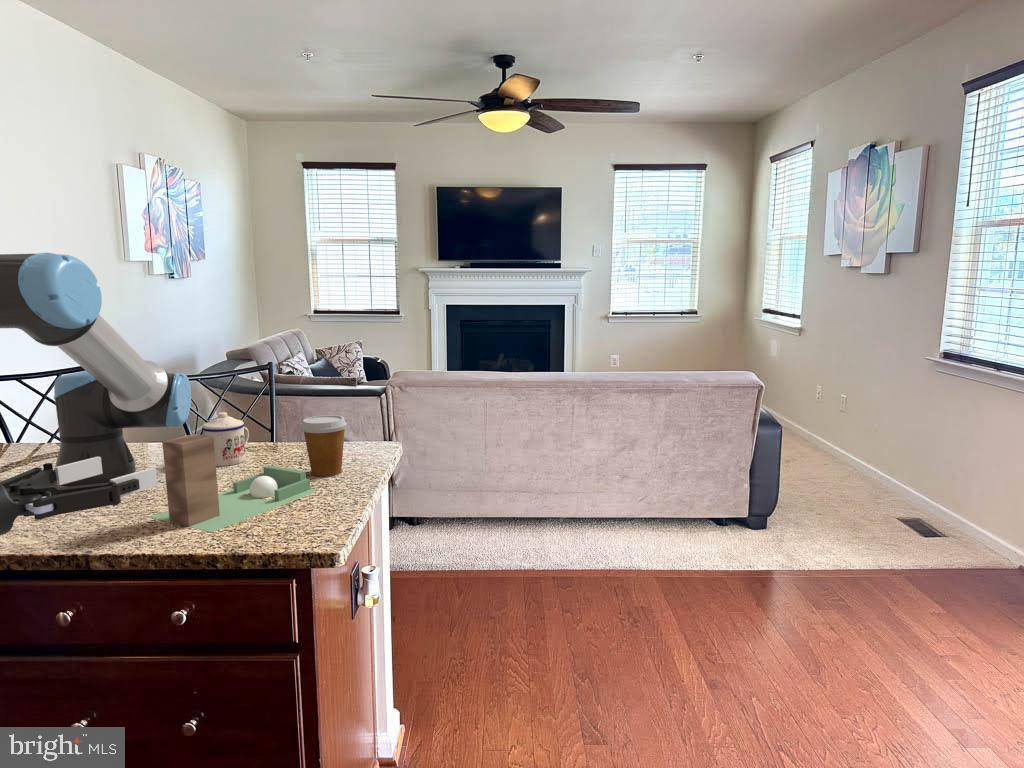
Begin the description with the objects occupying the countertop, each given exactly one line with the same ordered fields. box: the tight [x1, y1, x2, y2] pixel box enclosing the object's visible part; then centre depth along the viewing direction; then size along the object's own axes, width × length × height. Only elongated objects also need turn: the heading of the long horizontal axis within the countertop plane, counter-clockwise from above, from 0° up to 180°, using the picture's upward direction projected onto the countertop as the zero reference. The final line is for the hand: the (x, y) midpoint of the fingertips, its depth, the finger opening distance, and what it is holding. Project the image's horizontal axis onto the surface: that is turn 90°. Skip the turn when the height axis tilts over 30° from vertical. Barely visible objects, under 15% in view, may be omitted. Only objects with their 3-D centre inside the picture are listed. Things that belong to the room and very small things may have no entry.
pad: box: [149, 465, 318, 533], centre depth 124 cm, size 16×24×5 cm, turn 152°
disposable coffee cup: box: [300, 414, 347, 477], centre depth 147 cm, size 10×10×12 cm
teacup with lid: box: [201, 411, 250, 467], centre depth 159 cm, size 12×9×12 cm
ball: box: [249, 476, 279, 499], centre depth 129 cm, size 5×5×5 cm
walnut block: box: [162, 433, 220, 528], centre depth 115 cm, size 5×6×14 cm
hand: (127, 470), depth 105 cm, fingers open, 13 cm apart
